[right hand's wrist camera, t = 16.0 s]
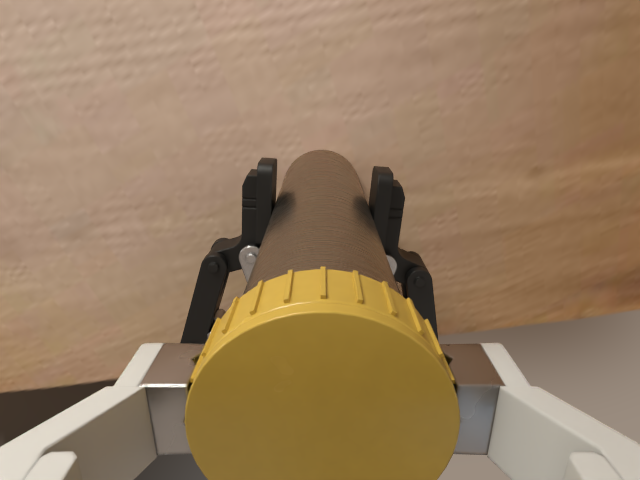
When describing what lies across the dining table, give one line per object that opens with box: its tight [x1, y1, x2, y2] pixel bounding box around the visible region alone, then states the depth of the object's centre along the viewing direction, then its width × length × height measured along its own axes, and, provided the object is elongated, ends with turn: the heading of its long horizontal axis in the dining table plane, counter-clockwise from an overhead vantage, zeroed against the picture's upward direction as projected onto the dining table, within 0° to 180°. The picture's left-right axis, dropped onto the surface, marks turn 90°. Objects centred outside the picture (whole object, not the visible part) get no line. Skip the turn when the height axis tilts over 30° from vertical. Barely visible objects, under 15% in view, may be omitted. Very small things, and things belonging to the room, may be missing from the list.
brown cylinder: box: [243, 150, 400, 295], centre depth 18 cm, size 5×5×19 cm
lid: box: [185, 267, 460, 480], centre depth 9 cm, size 6×6×2 cm
